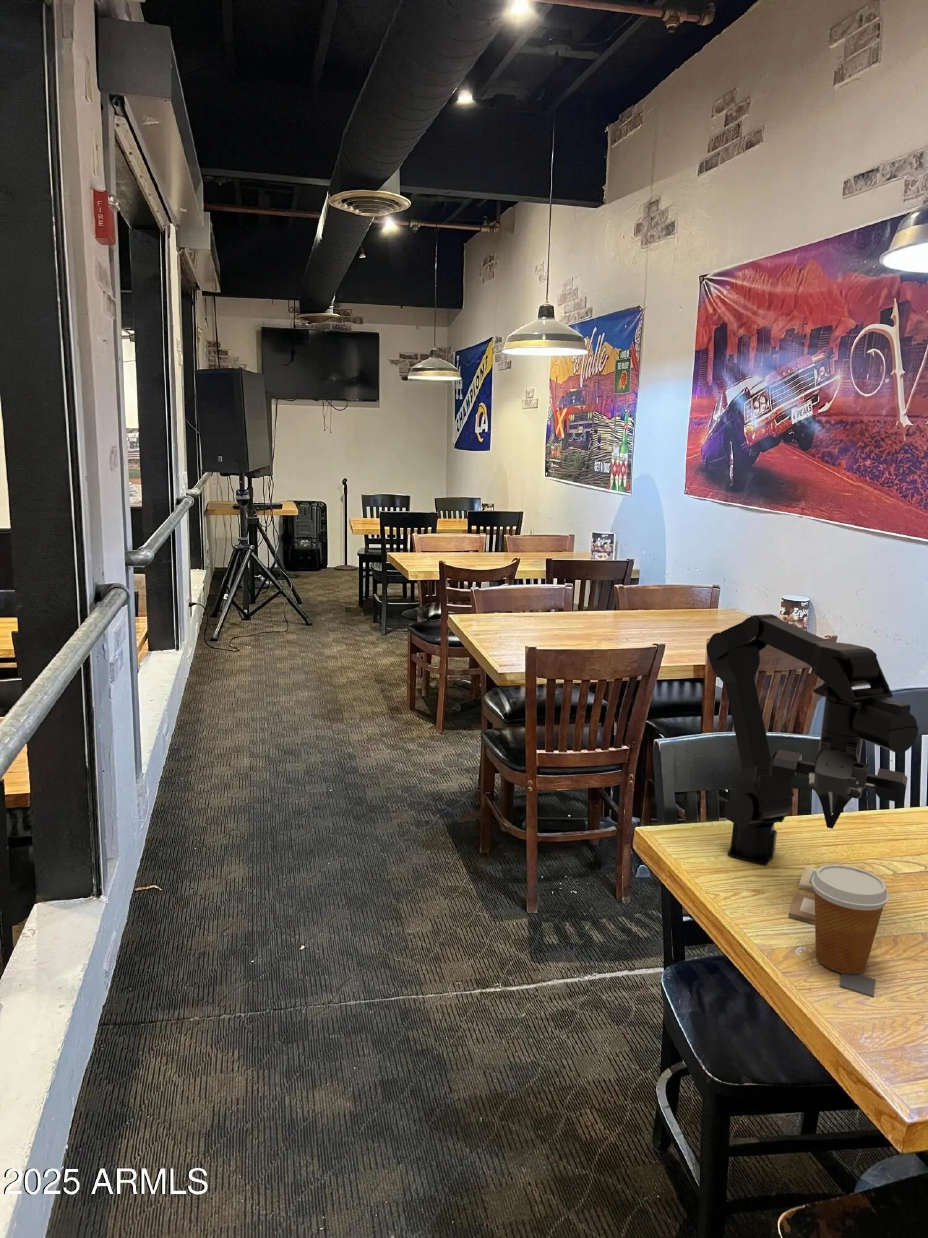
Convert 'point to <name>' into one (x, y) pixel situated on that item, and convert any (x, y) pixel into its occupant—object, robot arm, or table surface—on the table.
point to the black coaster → (858, 983)
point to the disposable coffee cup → (846, 916)
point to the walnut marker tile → (803, 908)
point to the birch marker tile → (807, 879)
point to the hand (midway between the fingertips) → (830, 827)
